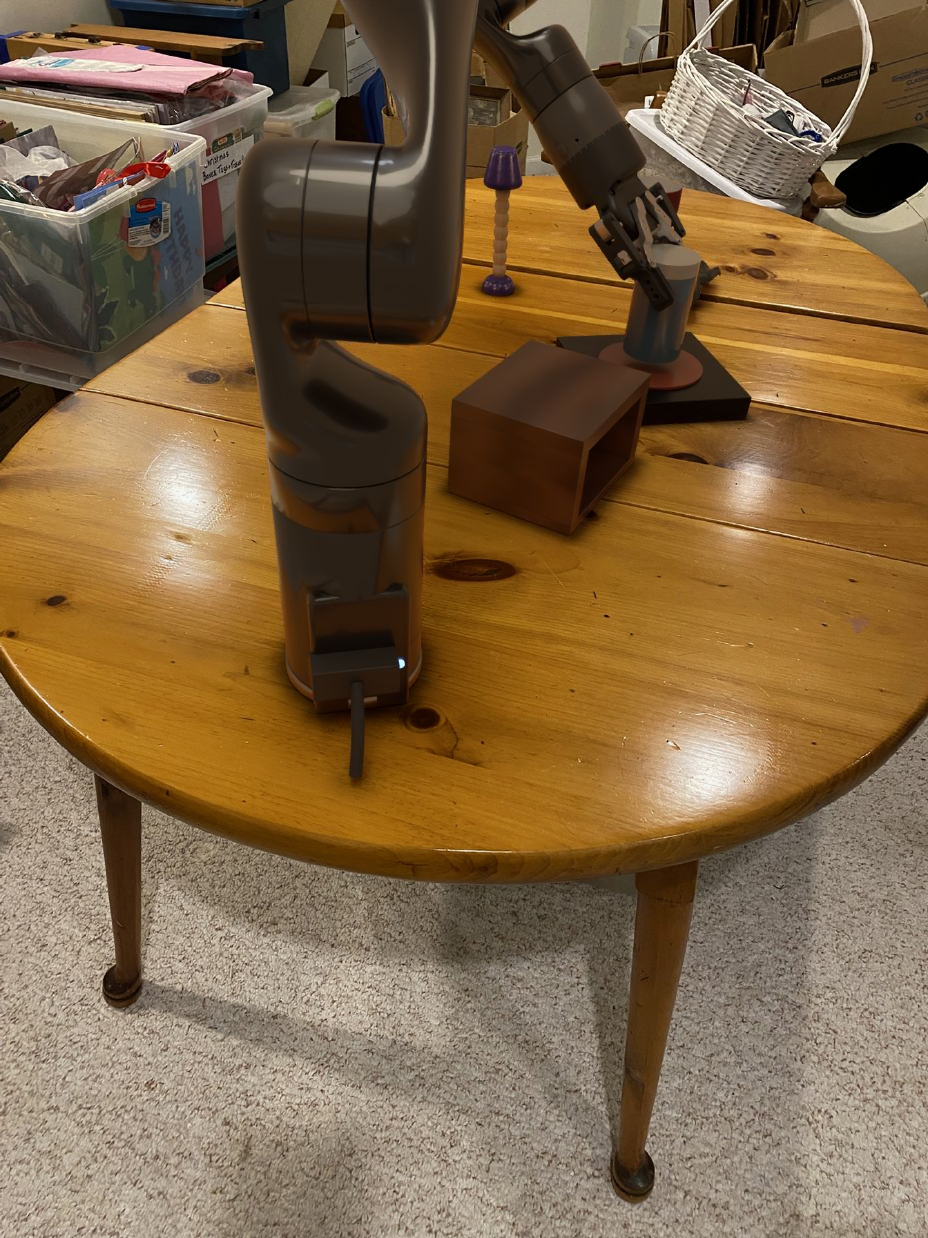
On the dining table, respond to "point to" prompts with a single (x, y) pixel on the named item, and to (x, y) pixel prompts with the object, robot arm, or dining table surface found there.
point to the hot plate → (674, 381)
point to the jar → (665, 330)
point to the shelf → (546, 434)
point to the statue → (704, 279)
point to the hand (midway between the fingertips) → (679, 295)
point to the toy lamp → (501, 213)
